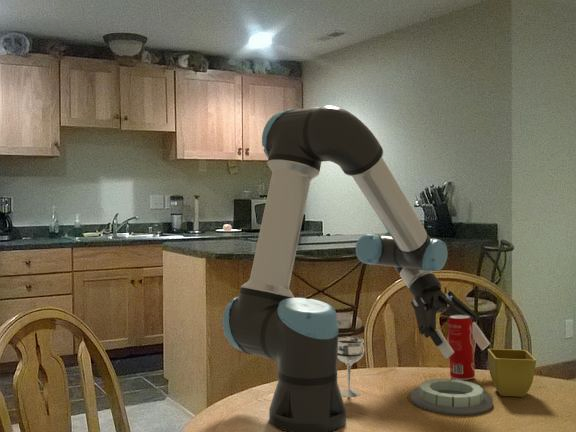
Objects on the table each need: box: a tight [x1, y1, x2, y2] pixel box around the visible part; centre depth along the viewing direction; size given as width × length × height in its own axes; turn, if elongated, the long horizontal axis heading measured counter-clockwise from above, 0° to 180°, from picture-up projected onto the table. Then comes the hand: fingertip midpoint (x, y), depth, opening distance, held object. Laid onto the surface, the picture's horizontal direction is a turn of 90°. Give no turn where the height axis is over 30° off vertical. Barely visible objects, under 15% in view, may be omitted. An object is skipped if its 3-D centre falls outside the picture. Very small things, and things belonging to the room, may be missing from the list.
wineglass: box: [337, 336, 365, 398], centre depth 148 cm, size 7×7×12 cm
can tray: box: [410, 378, 493, 416], centre depth 143 cm, size 17×17×3 cm
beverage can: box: [447, 315, 476, 381], centre depth 161 cm, size 6×6×15 cm
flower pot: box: [487, 348, 537, 398], centre depth 149 cm, size 9×9×9 cm
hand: (468, 351), depth 159 cm, fingers open, 13 cm apart
